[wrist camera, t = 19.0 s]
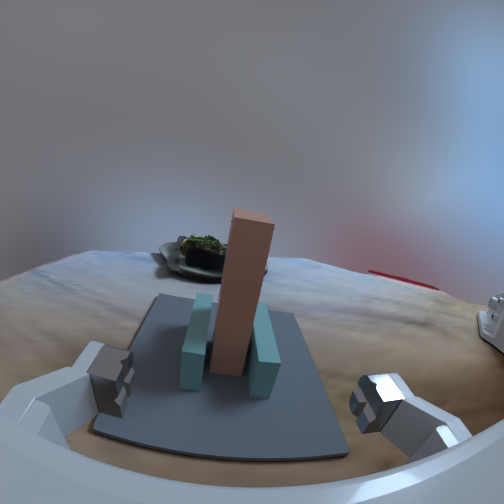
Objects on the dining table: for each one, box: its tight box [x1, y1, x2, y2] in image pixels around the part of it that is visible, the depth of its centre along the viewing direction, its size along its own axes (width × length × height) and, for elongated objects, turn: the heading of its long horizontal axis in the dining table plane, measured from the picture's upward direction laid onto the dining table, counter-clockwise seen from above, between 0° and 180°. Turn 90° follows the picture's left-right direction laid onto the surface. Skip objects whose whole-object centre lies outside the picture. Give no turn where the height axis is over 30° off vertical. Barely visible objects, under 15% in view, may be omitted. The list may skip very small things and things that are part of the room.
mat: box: [92, 293, 349, 461], centre depth 22 cm, size 20×16×1 cm
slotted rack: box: [180, 293, 281, 398], centre depth 21 cm, size 9×6×4 cm
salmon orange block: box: [209, 208, 275, 376], centre depth 20 cm, size 4×2×12 cm, turn 4°
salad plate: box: [159, 234, 268, 283], centre depth 46 cm, size 19×18×5 cm
